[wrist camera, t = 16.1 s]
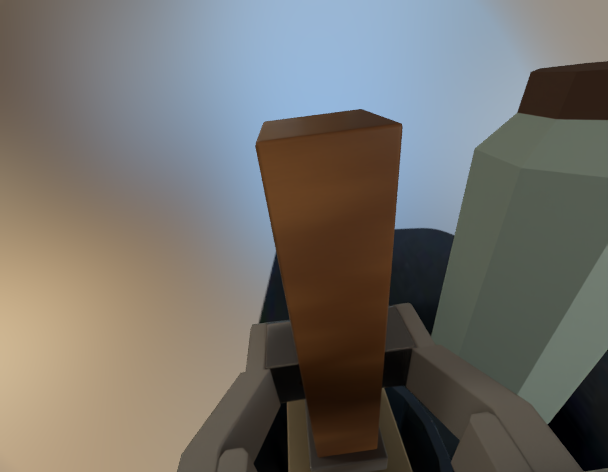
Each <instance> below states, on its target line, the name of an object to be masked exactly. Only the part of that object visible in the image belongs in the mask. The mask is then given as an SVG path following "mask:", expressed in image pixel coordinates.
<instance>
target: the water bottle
mask: <svg viewBox="0 0 608 472" xmlns="http://www.w3.org/2000/svg"><path fill="white" fill-rule="evenodd" d="M431 338H432V340H433V341H434V343H435V345H440V344H441V345H442V346H444V347H445V348H447V349H448V350H450V351H451V352H453V353H454V354H456V355H457V356H459V357H460V358H462V359H463V360H465V361H467V362H468V363H470V364H471V365H473V366H474V367H476V368H477V369H479V370H480V371H482V372H483V373H485V374H486V375H488V376H489V377H491V378H492V379H494V380H495V381H497V382H498V383H500V384H502V385H503V386H505V387H506V388H508V389H509V390H511V391H512V392H514V393H515V394H517V395H518V396H520V397H521V398H523V399H524V400H526V401H527V402H529V403H530V404H532V406H533V407H534V408H535V410H536V411H537V412H538V413H539V415H540V416H541V417H542V419H543V420H544V421H545V422H546V424H548V423H549V422H550V421H551V420H552V418H553V417H554V416H555V415H556V413H557V412H558V411H559V410H560V408H561V407H562V406H563V405H564V403H565V402H566V401H567V400H568V398H569V397H570V396H571V395H572V393H573V392H574V391H575V390H576V388H577V387H578V386H579V385H580V383H581V382H582V381H583V380H584V378H585V377H586V376H587V375H588V373H589V372H590V371H591V370H592V368H593V367H594V366H595V365H596V363H597V362H598V361H599V360H600V358H601V357H602V356H603V355H604V353H605V352H606V351H607V350H608V61H607V62H595V63H584V64H575V65H567V66H558V67H549V68H541V69H538V70H535V71H533V72H531V74H530V77H529V80H528V83H527V86H526V89H525V92H524V95H523V97H522V100H521V103H520V106H519V109H518V112H517V114H515V115H514V116H513V117H512V118H511V119H509V120H508V121H507V122H506V123H505V124H503V125H502V126H501V127H500V128H499V129H498V130H497V131H495V132H494V133H493V134H492V135H490V136H489V137H488V138H487V139H486V140H485V141H483V143H481V144H480V145H479V146H477V147H476V148H475V150H474V155H473V158H472V163H471V167H470V172H469V176H468V180H467V184H466V189H465V194H464V197H463V202H462V206H461V210H460V215H459V219H458V223H457V228H456V232H455V236H454V240H453V245H452V249H451V253H450V258H449V262H448V266H447V271H446V275H445V279H444V284H443V288H442V292H441V297H440V301H439V305H438V310H437V314H436V318H435V323H434V327H433V331H432V335H431Z"/></svg>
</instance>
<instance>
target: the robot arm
mask: <svg viewBox="0 0 608 472" xmlns="http://www.w3.org/2000/svg"><path fill="white" fill-rule="evenodd" d="M405 385H406V387H407V388H408V389H409V390H410V391H411V392H412V393H413V394H414V395H415V396H416V397H417V398H418V399H419V400H420V401H421V402H422V403H423V404H424V405H425V406H426V407H427V408H428V409H429V410H430V411H431V412H432V413H433V414H434V415H435V416H436V417H437V418H438V419H439V420H440V421H441V422H442V423H443V424H444V425H445V426H446V427H447V428H448V429H449V430H450V431H451V432H452V433H453V434H454V435H455V436H456V437H457V438H458V439H459V440H460V442H459V444H458V447H457V449H456V451H455V454H454V456H453V458H452V461H451V464H452V466H453V469H454V471H455V472H584V471H583V470H582V469H581V467H580V466H579V465H578V464H577V462H576V461H575V460H574V458H573V457H572V456H571V455H570V453H569V452H568V451H567V449H566V448H565V447H564V446H563V444H562V443H561V442H560V440H559V439H558V438H557V437H556V435H555V434H554V433H553V431H552V430H551V429H550V428H549V426H548V425H547V424H546V422H545V421H544V420H543V419H542V417H541V416H540V415H539V413H538V412H537V411H536V410H535V408H534V407H533V406H532V404H530V403H529V402H527V401H526V400H524V399H523V398H521V397H520V396H518V395H517V394H515V393H514V392H512V391H511V390H509V389H508V388H506V387H505V386H503V385H502V384H500V383H498V382H497V381H495V380H494V379H492V378H491V377H489V376H488V375H486V374H485V373H483V372H482V371H480V370H479V369H477V368H476V367H474V366H473V365H471V364H470V363H468V362H467V361H465V360H463V359H462V358H460V357H459V356H457V355H456V354H454V353H453V352H451V351H450V350H448V349H447V348H445V347H444V346H442V345H441V344H440V345H435V343H434V341H433V340H432V338H431V336H430V335H429V333H428V331H427V330H426V328H425V326H424V325H423V323H422V321H421V320H420V318H419V316H418V315H417V313H416V311H415V310H414V308H413V306H412V305H411V304H410V303H404V304H397V305H389V306H388V317H387V330H386V342H385V355H384V368H383V380H382V388H387V387H396V386H405ZM303 399H306V398H305V393H304V388H303V383H302V378H301V373H300V368H299V363H298V358H297V353H296V347H295V342H294V337H293V332H292V327H291V322H290V320H285V321H277V322H268V323H261V324H253V325H252V327H251V331H250V340H249V348H248V357H247V365H246V372H244V373H241V374H240V375H239V376H238V378H237V379H236V380H235V382H234V383H233V385H232V386H231V387H230V389H229V390H228V391H227V393H226V394H225V395H224V397H223V398H222V400H221V401H220V402H219V404H218V405H217V406H216V408H215V409H214V411H213V412H212V413H211V415H210V416H209V417H208V419H207V420H206V422H205V423H204V424H203V426H202V427H201V429H200V430H199V431H198V432H197V434H196V435H195V437H194V438H193V439H192V441H191V442H190V443H189V445H188V446H187V448H186V449H185V451H184V452H183V453H182V455H181V458H180V462H179V466H178V470H177V472H257V470H256V468H255V466H254V464H253V463H254V461H255V459H256V457H257V455H258V453H259V451H260V448H261V446H262V444H263V442H264V440H265V438H266V436H267V434H268V431H269V429H270V427H271V425H272V423H273V421H274V419H275V416H276V414H277V412H278V410H279V408H280V406H281V405H280V403H286V402H292V401H298V400H303ZM586 472H608V468H606V469H599V470H593V471H586Z"/></svg>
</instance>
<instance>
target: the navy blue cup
mask: <svg viewBox="0 0 608 472" xmlns="http://www.w3.org/2000/svg"><path fill="white" fill-rule="evenodd" d="M384 389H385V392H386V395H387V398H388V401H389V404H390V407H391V410H392V413H393V416H394V418H395V421H396V424H397V427H398V430H399V433H400V436H401V439H402V442H403V445H404V448H405V451H406V454H407V457H408V460H409V463H410V466H411V468H412V471H413V472H453V471H452V465H451V461H450V457H449V455H448V453H447V451H446V449H445V446H444V444H443V442H442V440H441V437H440V435H439V433H438V431H437V429H436V426H435V424H434V422H433V421H432V419H431V418H430V416H429V415H428V414H427V412H426V411H425V410H424V409H423V407H422V406H421V405H420V403H419V402H418V401H417V399H416V398H415V397H414V396H413V394H412V393H411V392H410V391H409V390H407V389H406V388H405V387H404V386H396V387H387V388H384ZM280 405H281V406H280V408H279V410H278V412H277V414H276V416H275V419H274V421H273V423H272V425H271V427H270V429H269V431H268V434H267V436H266V438H265V440H264V442H263V444H262V446H261V448H260V451H259V453H258V455H257V457H256V459H255V461H254V463H253V464H254V466H255V468H256V470H257V472H288V430H287V402H286V403H280Z"/></svg>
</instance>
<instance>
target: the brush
mask: <svg viewBox="0 0 608 472" xmlns="http://www.w3.org/2000/svg"><path fill="white" fill-rule="evenodd" d="M401 139H402V124H401V123H398V122H395V121H393V120H390V119H387V118H384V117H381V116H379V115H376V114H373V113H371V112H368V111H365V110H362V109H359V110H351V111H343V112H335V113H328V114H320V115H312V116H305V117H297V118H290V119H282V120H274V121H266V122H264V123H263V125H262V128H261V131H260V134H259V136H258V139H257V141H256V146H255V147H256V152H257V157H258V161H259V166H260V172H261V176H262V181H263V187H264V192H265V197H266V202H267V207H268V212H269V217H270V222H271V227H272V232H273V237H274V242H275V247H276V252H277V257H278V262H279V267H280V272H281V277H282V282H283V287H284V292H285V297H286V302H287V307H288V312H289V317H290V322H291V327H292V332H293V337H294V342H295V347H296V353H297V358H298V363H299V368H300V373H301V378H302V383H303V388H304V393H305V398H306V399H303V400H298V401H292V402H287V430H288V472H413V471H412V468H411V466H410V463H409V460H408V457H407V454H406V451H405V448H404V445H403V442H402V439H401V436H400V433H399V430H398V427H397V424H396V421H395V418H394V416H393V413H392V410H391V407H390V404H389V401H388V398H387V395H386V392H385V389H384V388H382V380H383V368H384V355H385V342H386V330H387V317H388V304H389V292H390V279H391V266H392V254H393V241H394V228H395V215H396V202H397V190H398V177H399V164H400V152H401Z"/></svg>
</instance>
